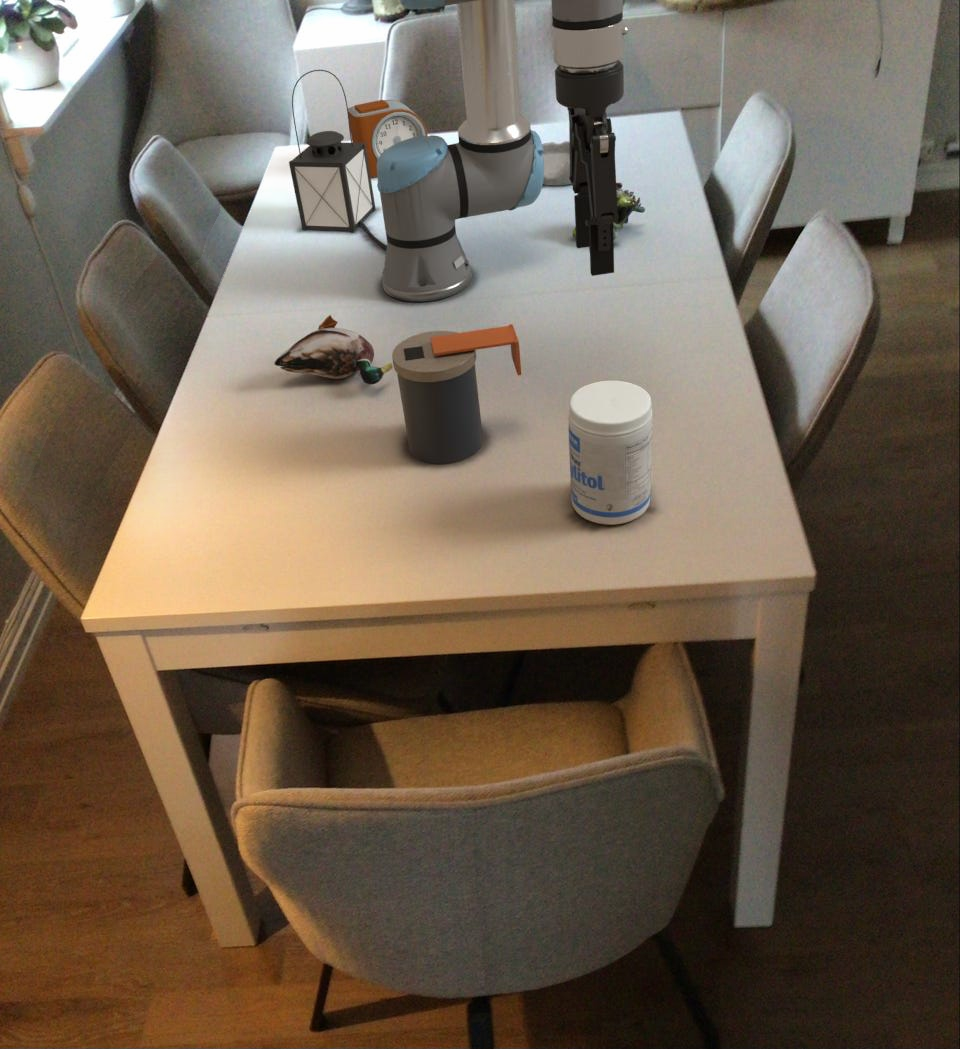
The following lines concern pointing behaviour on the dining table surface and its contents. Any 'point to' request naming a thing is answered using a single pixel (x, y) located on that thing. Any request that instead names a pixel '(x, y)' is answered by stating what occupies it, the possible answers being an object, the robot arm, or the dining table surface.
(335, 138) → the lantern
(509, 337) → the lid slider
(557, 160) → the dish
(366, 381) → the decorative duck model
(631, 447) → the supplement tub
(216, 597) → the dining table surface
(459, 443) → the travel mug
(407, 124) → the alarm clock
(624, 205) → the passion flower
